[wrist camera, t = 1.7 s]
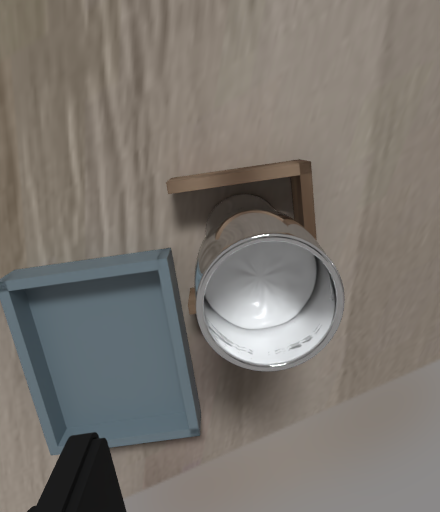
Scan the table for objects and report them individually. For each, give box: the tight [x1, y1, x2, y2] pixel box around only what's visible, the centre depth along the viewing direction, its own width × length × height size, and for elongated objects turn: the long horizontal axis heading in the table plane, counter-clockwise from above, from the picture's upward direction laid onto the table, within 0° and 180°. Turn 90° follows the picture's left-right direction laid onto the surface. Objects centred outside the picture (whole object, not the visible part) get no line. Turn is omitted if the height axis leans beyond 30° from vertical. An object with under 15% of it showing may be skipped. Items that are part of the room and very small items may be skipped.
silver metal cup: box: [194, 194, 345, 371], centre depth 24 cm, size 7×7×15 cm
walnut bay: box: [166, 159, 317, 314], centre depth 30 cm, size 10×10×4 cm
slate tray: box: [0, 248, 201, 455], centre depth 32 cm, size 13×16×3 cm
